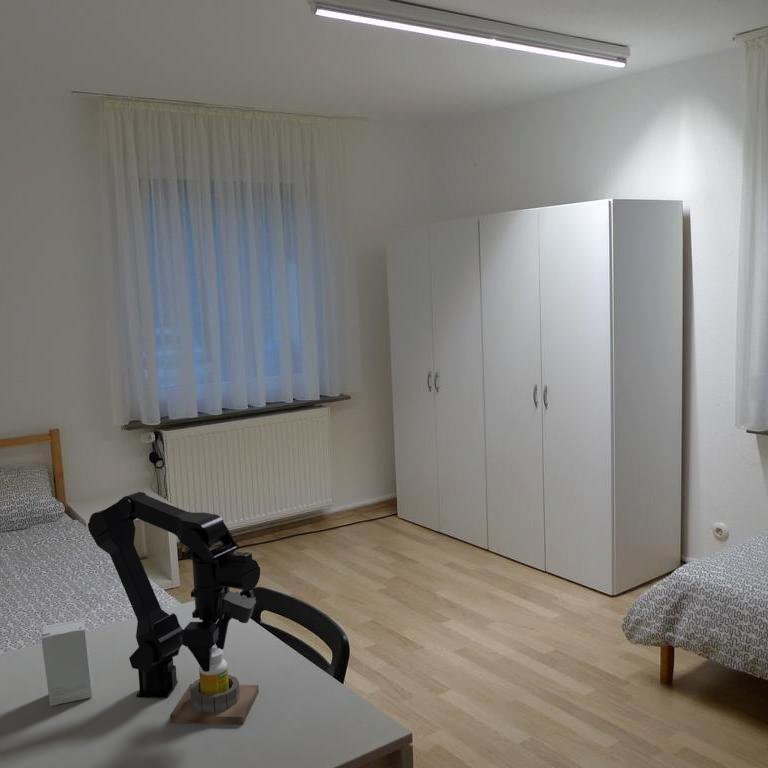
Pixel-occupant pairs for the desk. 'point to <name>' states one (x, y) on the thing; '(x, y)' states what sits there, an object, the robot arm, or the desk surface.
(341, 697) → the desk surface
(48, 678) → the skincare box
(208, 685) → the supplement bottle
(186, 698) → the collar board
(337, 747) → the desk surface
